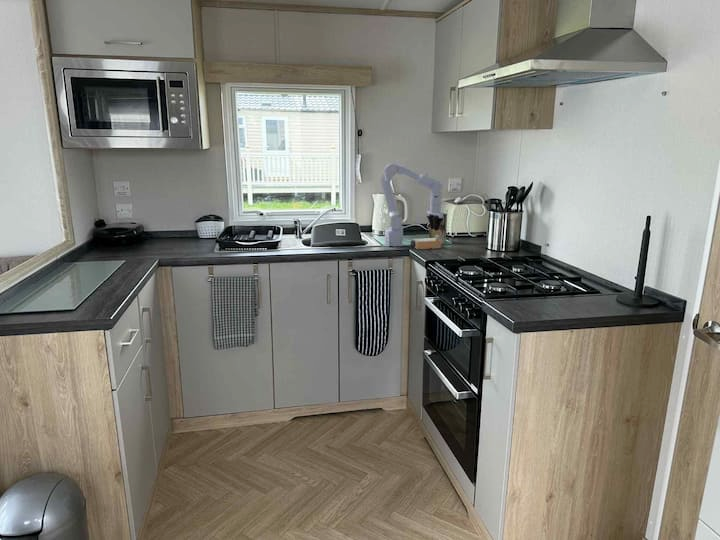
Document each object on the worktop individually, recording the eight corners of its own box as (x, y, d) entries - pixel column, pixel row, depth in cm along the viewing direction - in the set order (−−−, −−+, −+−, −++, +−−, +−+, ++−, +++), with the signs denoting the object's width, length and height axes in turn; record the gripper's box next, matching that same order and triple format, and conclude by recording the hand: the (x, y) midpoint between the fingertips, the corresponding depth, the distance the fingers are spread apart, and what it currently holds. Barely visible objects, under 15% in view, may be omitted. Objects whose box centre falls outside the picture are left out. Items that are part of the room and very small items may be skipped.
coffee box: (446, 241, 292) (448, 213, 288) (444, 243, 286) (446, 214, 282) (430, 240, 295) (431, 212, 291) (428, 242, 289) (430, 213, 285)
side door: (418, 249, 268) (418, 236, 267) (416, 248, 270) (417, 235, 268) (441, 248, 273) (442, 235, 271) (439, 247, 274) (440, 234, 273)
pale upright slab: (414, 249, 269) (415, 241, 268) (409, 246, 276) (409, 239, 275) (440, 247, 274) (440, 240, 273) (434, 245, 281) (434, 238, 280)
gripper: (449, 205, 265) (447, 231, 269) (436, 202, 279) (434, 227, 282) (436, 206, 263) (435, 232, 266) (424, 202, 276) (423, 227, 280)
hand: (434, 229), depth 274 cm, fingers open, 4 cm apart
